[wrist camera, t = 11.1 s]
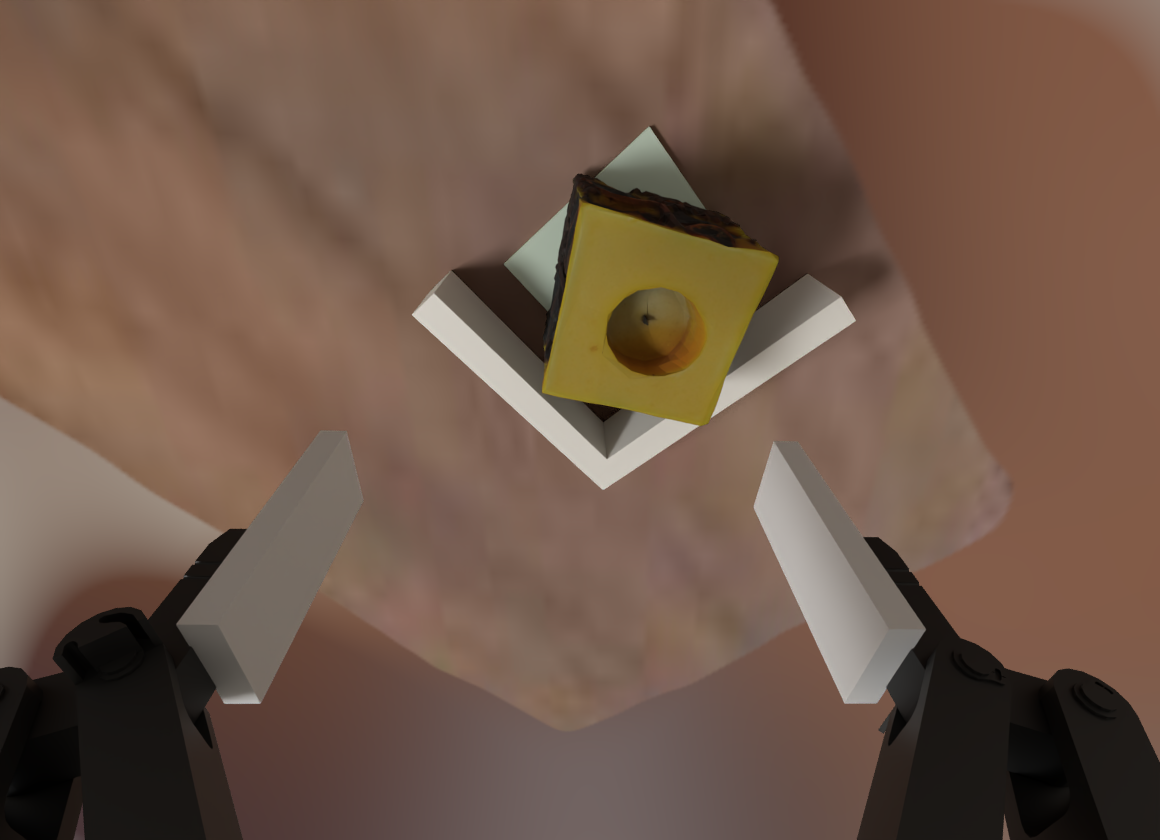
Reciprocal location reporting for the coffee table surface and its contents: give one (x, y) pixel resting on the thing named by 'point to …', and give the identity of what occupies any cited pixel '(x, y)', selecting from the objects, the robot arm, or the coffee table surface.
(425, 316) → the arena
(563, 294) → the candle
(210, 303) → the coffee table surface
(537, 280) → the pad
